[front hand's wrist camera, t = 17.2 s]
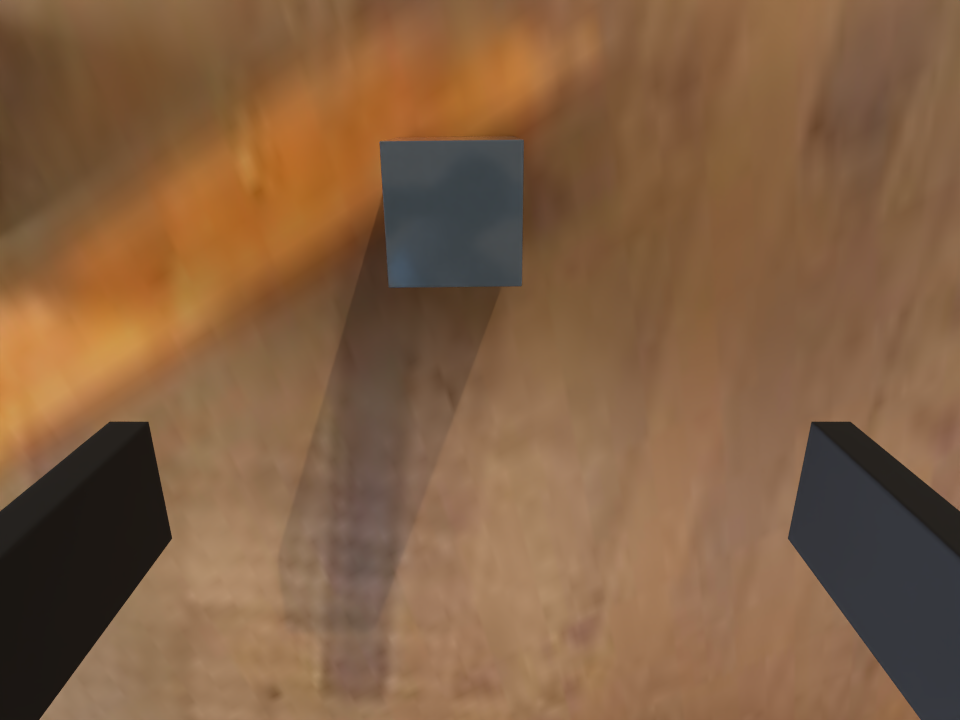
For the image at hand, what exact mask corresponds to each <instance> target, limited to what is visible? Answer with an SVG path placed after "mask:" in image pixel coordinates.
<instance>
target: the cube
mask: <svg viewBox="0 0 960 720" xmlns="http://www.w3.org/2000/svg"><path fill="white" fill-rule="evenodd" d="M380 157H381V173H382V189H383V205H384V222H385V238H386V254H387V271H388V287H389V288H411V287H500V286H522V241H523V162H524V140H522V139H520V138H517V137H514V136H492V137H402V138H394V139H389V140H384V141H380Z"/></svg>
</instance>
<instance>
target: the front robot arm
mask: <svg viewBox="0 0 960 720" xmlns="http://www.w3.org/2000/svg"><path fill="white" fill-rule="evenodd" d="M171 539H172V536H171V531H170V526H169V521H168V516H167V511H166V506H165V501H164V496H163V491H162V487H161V482H160V477H159V472H158V467H157V462H156V457H155V452H154V447H153V442H152V437H151V432H150V427H149V422H109V423H108V424H106V425H105V426H104V427H103V428H102V429H100V430H99V431H98V432H97V433H95V434H94V435H93V436H92V437H91V438H89V439H88V440H87V441H86V442H84V443H83V444H82V445H81V446H80V447H78V448H77V449H76V450H75V451H73V452H72V453H71V454H70V455H69V456H67V457H66V458H65V459H64V460H62V461H61V462H60V463H59V464H58V465H56V466H55V467H54V468H53V469H51V470H50V471H49V472H48V473H47V474H45V475H44V476H43V477H42V478H40V479H39V480H38V481H37V482H36V483H34V484H33V485H32V486H31V487H29V488H28V489H27V490H26V491H25V492H23V493H22V494H21V495H20V496H19V497H17V498H16V499H15V500H14V501H12V502H11V503H10V504H9V505H8V506H6V507H5V508H4V509H3V510H1V511H0V720H39V719H40V718H41V716H42V715H43V714H44V712H45V711H46V710H47V708H48V707H49V706H50V704H51V703H52V701H53V700H54V699H55V697H56V696H57V695H58V693H59V692H60V691H61V689H62V688H63V686H64V685H65V684H66V682H67V681H68V680H69V678H70V677H71V676H72V674H73V673H74V671H75V670H76V669H77V667H78V666H79V665H80V663H81V662H82V661H83V659H84V658H85V656H86V655H87V654H88V652H89V651H90V650H91V648H92V647H93V646H94V644H95V643H96V641H97V640H98V639H99V637H100V636H101V635H102V633H103V632H104V631H105V629H106V628H107V626H108V625H109V624H110V622H111V621H112V620H113V618H114V617H115V616H116V614H117V613H118V611H119V610H120V609H121V607H122V606H123V605H124V603H125V602H126V601H127V599H128V598H129V596H130V595H131V594H132V592H133V591H134V590H135V588H136V587H137V586H138V584H139V583H140V581H141V580H142V579H143V577H144V576H145V575H146V573H147V572H148V571H149V569H150V568H151V566H152V565H153V564H154V562H155V561H156V560H157V558H158V557H159V556H160V554H161V553H162V551H163V550H164V549H165V547H166V546H167V545H168V543H169V542H170V541H171ZM788 539H789V541H790V542H791V543H792V545H793V546H794V547H795V549H796V550H797V551H798V553H799V554H800V556H801V557H802V558H803V560H804V561H805V562H806V564H807V565H808V566H809V568H810V569H811V571H812V572H813V573H814V575H815V576H816V577H817V579H818V580H819V581H820V583H821V584H822V586H823V587H824V588H825V590H826V591H827V592H828V594H829V595H830V596H831V598H832V599H833V601H834V602H835V603H836V605H837V606H838V607H839V609H840V610H841V611H842V613H843V614H844V616H845V617H846V618H847V620H848V621H849V622H850V624H851V625H852V626H853V628H854V629H855V631H856V632H857V633H858V635H859V636H860V637H861V639H862V640H863V641H864V643H865V644H866V646H867V647H868V648H869V650H870V651H871V652H872V654H873V655H874V656H875V658H876V659H877V661H878V662H879V663H880V665H881V666H882V667H883V669H884V670H885V671H886V673H887V674H888V676H889V677H890V678H891V680H892V681H893V682H894V684H895V685H896V686H897V688H898V689H899V691H900V692H901V693H902V695H903V696H904V697H905V699H906V700H907V701H908V703H909V704H910V706H911V707H912V708H913V710H914V711H915V712H916V714H917V715H918V716H919V718H920V719H921V720H960V511H959V510H957V509H956V508H955V507H954V506H952V505H951V504H950V503H949V502H948V501H946V500H945V499H944V498H943V497H941V496H940V495H939V494H938V493H937V492H935V491H934V490H933V489H932V488H931V487H929V486H928V485H927V484H926V483H924V482H923V481H922V480H921V479H920V478H918V477H917V476H916V475H915V474H913V473H912V472H911V471H910V470H909V469H907V468H906V467H905V466H904V465H902V464H901V463H900V462H899V461H898V460H896V459H895V458H894V457H893V456H891V455H890V454H889V453H888V452H887V451H885V450H884V449H883V448H882V447H880V446H879V445H878V444H877V443H876V442H874V441H873V440H872V439H871V438H869V437H868V436H867V435H866V434H865V433H863V432H862V431H861V430H860V429H858V428H857V427H856V426H855V425H854V424H852V423H851V422H811V427H810V432H809V437H808V442H807V447H806V452H805V457H804V462H803V467H802V472H801V477H800V482H799V487H798V491H797V496H796V501H795V506H794V511H793V516H792V521H791V526H790V531H789V536H788Z"/></svg>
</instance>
